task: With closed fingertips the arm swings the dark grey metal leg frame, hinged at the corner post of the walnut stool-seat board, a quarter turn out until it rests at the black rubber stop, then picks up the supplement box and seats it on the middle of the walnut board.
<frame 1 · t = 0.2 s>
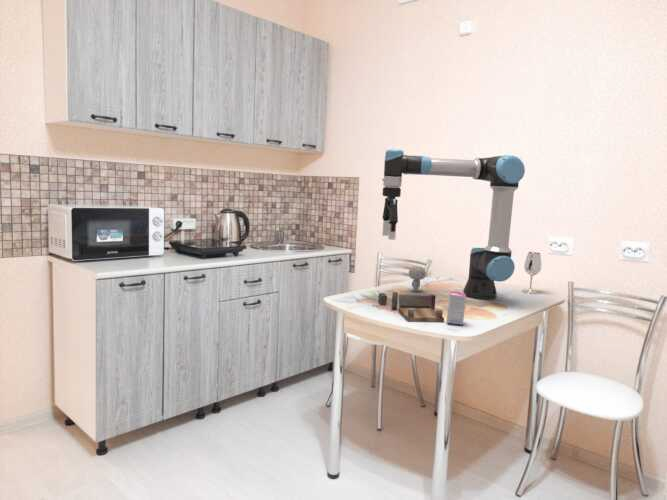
hand: (388, 237, 214), 28 cm above the table, fingers open, 13 cm apart
stop block: (382, 303, 213), on the table
supplement box: (454, 323, 189), on the table
wineglass: (529, 292, 252), on the table
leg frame: (416, 301, 205), point 3 cm above the table, hinge at 0.0°
stool seat: (420, 316, 195), on the table
figurine: (415, 291, 241), on the table
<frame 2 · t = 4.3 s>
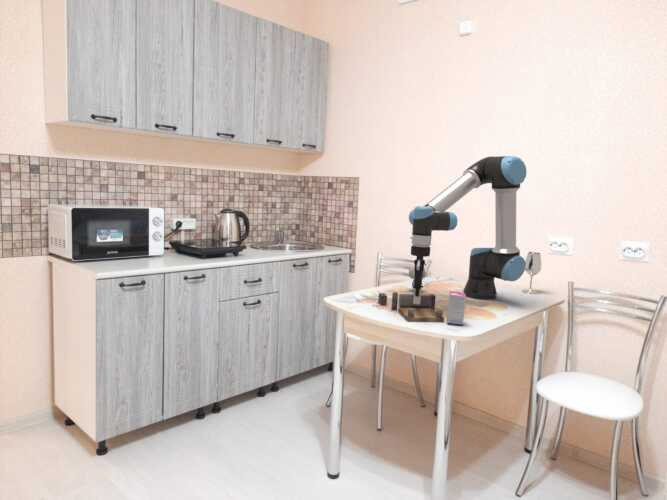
hand: (416, 303, 202), 3 cm above the table, fingers closed
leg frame: (416, 301, 205), point 3 cm above the table, hinge at 0.1°, touching gripper
everything else where it was.
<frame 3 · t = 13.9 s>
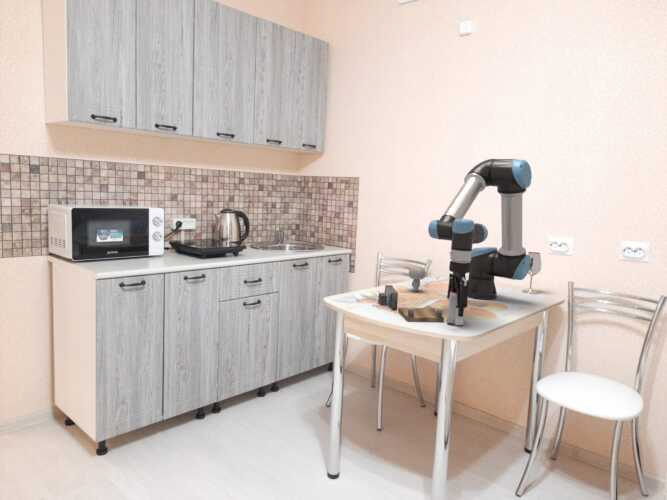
hand: (455, 321, 189), 1 cm above the table, fingers closed on supplement box, 7 cm apart
supplement box: (454, 323, 189), on the table, touching gripper
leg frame: (390, 295, 213), point 3 cm above the table, hinge at 86.3°
everything else where it was.
when the fingers open (3 cm above the table, at t = 19.0 s): supplement box drops 1 cm, resting on stool seat.
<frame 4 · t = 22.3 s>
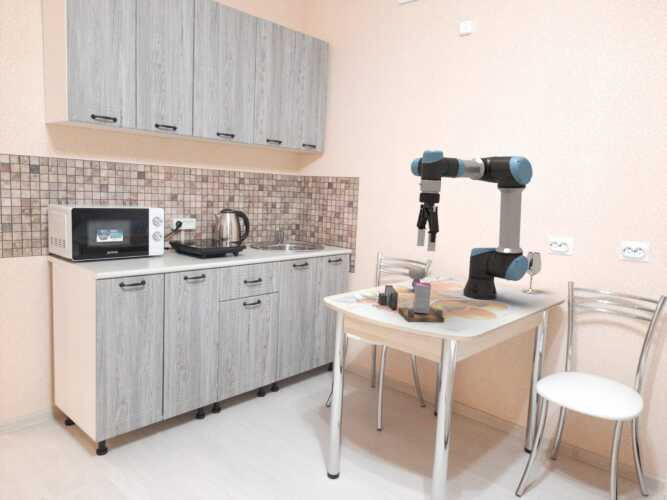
hand: (425, 248, 192), 27 cm above the table, fingers open, 13 cm apart
supplement box: (420, 313, 195), point 1 cm above the table, touching stool seat
everything else where it was.
at the end: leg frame at +86° (first picture: +0°); supplement box inside the target area on the stool seat (0.2 cm from its centre), point 1.4 cm above the stool seat's base; supplement box tilted 0° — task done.
